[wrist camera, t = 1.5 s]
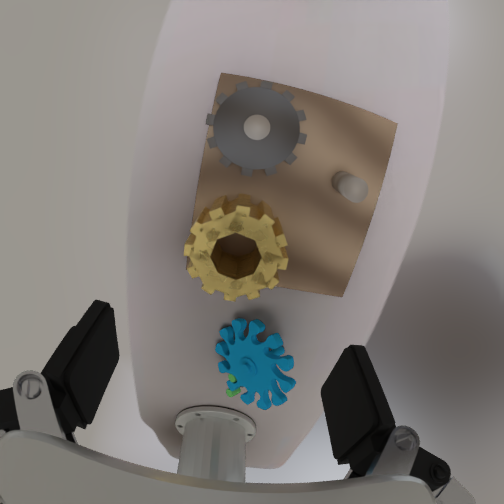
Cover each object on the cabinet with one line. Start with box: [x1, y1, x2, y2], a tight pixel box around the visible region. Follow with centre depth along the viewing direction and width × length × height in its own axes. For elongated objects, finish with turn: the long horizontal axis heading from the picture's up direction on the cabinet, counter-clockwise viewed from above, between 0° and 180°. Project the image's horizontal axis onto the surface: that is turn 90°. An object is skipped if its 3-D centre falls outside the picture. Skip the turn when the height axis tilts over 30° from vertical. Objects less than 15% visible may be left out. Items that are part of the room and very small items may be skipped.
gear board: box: [186, 73, 397, 297], centre depth 21 cm, size 17×15×5 cm
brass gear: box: [184, 193, 288, 301], centre depth 21 cm, size 7×7×4 cm
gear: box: [215, 318, 296, 410], centre depth 28 cm, size 11×6×10 cm
